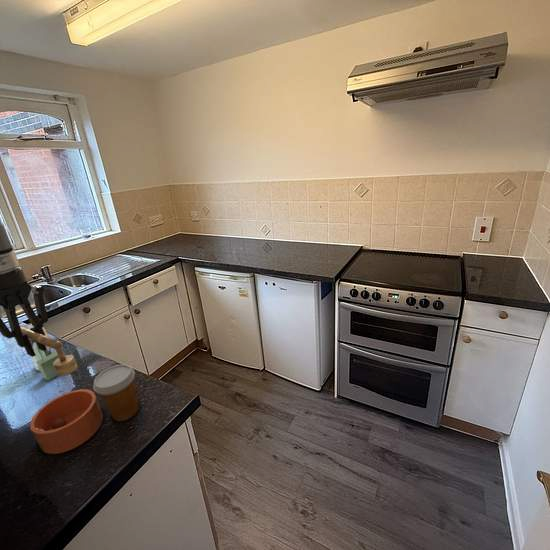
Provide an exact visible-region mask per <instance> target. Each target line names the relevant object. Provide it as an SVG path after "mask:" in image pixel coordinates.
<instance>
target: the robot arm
mask: <svg viewBox="0 0 550 550" xmlns="http://www.w3.org/2000/svg"><path fill="white" fill-rule="evenodd" d="M44 293H45V288H44V287H43V286H41V285H40V286H39V285H33V286H32V285H31V284H30V283H29V282H28V280H27V278H26V275H25V273H24V270H23V268H22V267H20V261H19V260H18V257H17V255H16V252H15V250H14V247H13V245H12V242H11V240H10V238H9V235H8V232H7V230H6V227H5V223H4V222H3V221H2V219H1V218H0V307H2V308H3V309H2V310H3V311H4V312H5V315H6V319H7V322H8V325H6V323H5V322H4V321H3V319H2V318H1V317H0V334H1V335H2V336H3V337H4V338H7V339H12V338H14V339H15V341H16V344H17V346H18V347H20V348H24V351H25V352H26V354H27V355H28V356H29V357H31V356H32V357H34V356H35V355H36V354H35V352H34V350H33V348H32V345H31V343H30V341H29V339H28V336H27V334H25V333H22V331H21V328H20V327H21V325H20V322H19V318H18V315H17V309H16V308H17V306H20V308H21V309H22V310H23V313H24V314H25V315H26V317H27V319H28V321H29V322H30V323H31V324H32V326H34V327H32V328H30V330H31V331H34V332H36V333H39V334H42V335H44V336H45V333H44V331H43V328H42V327H44V324H46V323H48V321H49V317H48V312H47V308H46V303H45V297H44ZM30 294H32V297H33V301H34V305H35V310H36V311H34V308H33V307H32V305H31V303H30V300H29V297H30ZM8 326H9V327H8ZM36 344H37V346H38V348H39V349H40V350H42V351H45V350H47V349H46V346H45V345H43V344H41V343H38V342H36ZM32 357H31V358H32Z"/></svg>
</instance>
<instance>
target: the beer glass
mask: <svg viewBox="0 0 550 550" xmlns="http://www.w3.org/2000/svg"><path fill="white" fill-rule="evenodd" d="M22 327H23V328H26V329H28V330H30V328H32V327H34V326H32V324H31V322H30V323H28V324H25V325H23V326H22ZM42 328H43V331H44V333H45V336H47V337H49V335H48V333H47V330H46V329H45V327H44V326H43V327H42ZM29 341H30V343H31V345H32V348H33V350H34V352H35V354H36V355H35V356H34V357H32V356H30V357H31V359H32V360H33V361H32V362H33V364H34V368H35V371H40V369H39V367H38V365H37V363H36V362H37V361H39V360H41V359H43V358H45V357H47V356H48V355H50V354H52V353H53V352H52V348H51V347H48V346H46V345H45V346H46V349H47V350H45V351H42V350H40V349H39V348H38V346H37V344H36V341H33V340H31V339H29Z"/></svg>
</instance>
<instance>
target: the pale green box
mask: <svg viewBox="0 0 550 550" xmlns="http://www.w3.org/2000/svg"><path fill="white" fill-rule="evenodd" d="M58 358H59V356H58V354H57V352H56V351H54V352H52V354H50V355H48V356H47V357H45V358H43V359H41V360H39V361H37V362H36V363H37V365H38V367H39V369H40V370H39V371H40V374H41V376H42V378H43V379H44V380H46V381H47V382H48V381H50V380H52V379H55V377H56V378H57V376H58V375H57V373H56V370H55V368H54V366H53V362H54V361H55V360H57V359H58Z"/></svg>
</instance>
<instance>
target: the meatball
mask: <svg viewBox="0 0 550 550" xmlns="http://www.w3.org/2000/svg"><path fill="white" fill-rule="evenodd" d="M65 425H66V421H65V420H64V419H62V418H60V419H57V420H55V421H54V422H53V424H52V429H53V430H54V429H57V428H60V427H63V426H65Z"/></svg>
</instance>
